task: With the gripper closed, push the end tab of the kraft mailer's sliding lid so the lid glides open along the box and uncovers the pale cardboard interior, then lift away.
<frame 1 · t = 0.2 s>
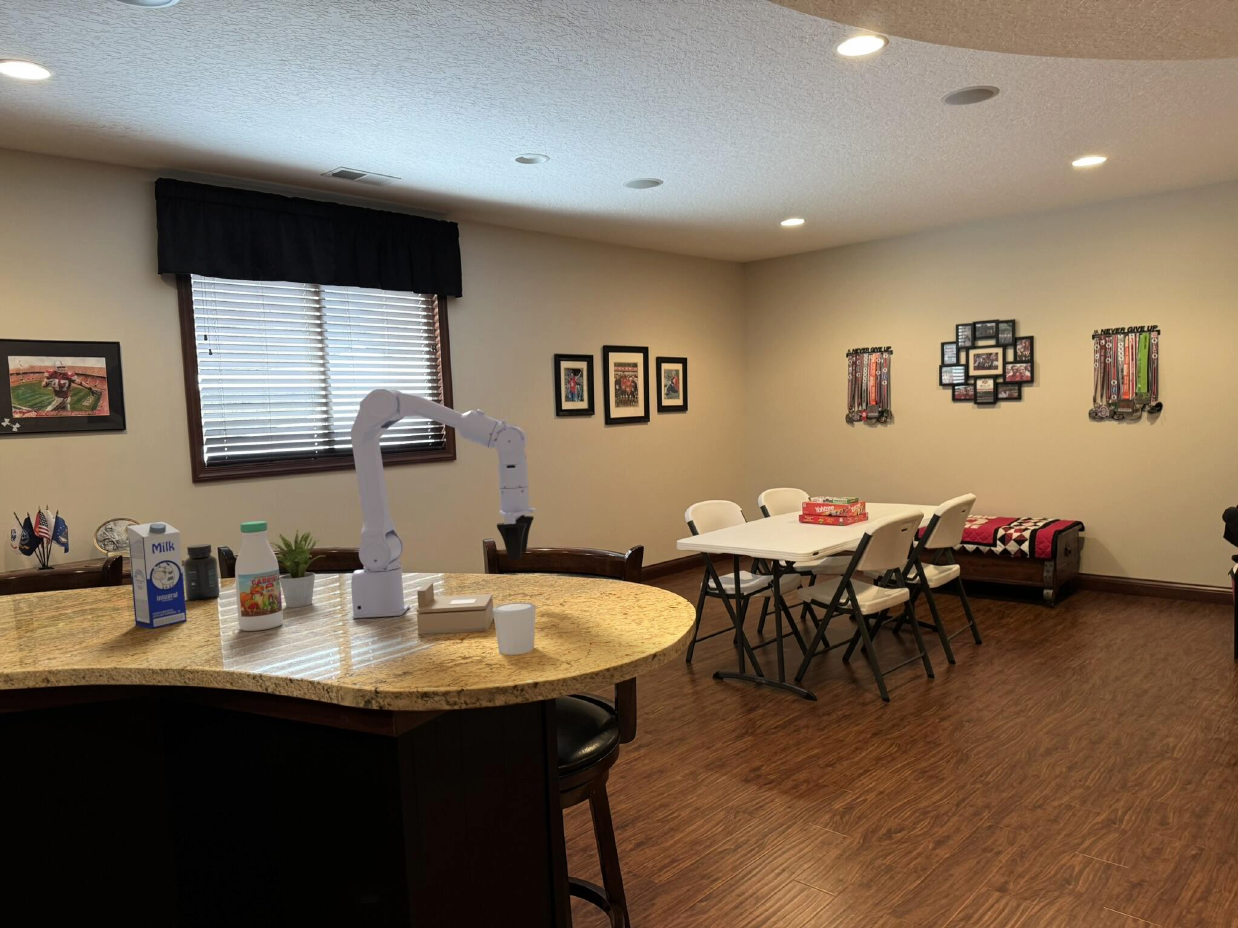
hand: (517, 555, 164), 10 cm above the countertop, fingers open, 7 cm apart
mailer: (457, 625, 151), on the countertop
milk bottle: (261, 627, 158), on the countertop
house plant: (299, 604, 178), on the countertop
supplement bottle: (203, 598, 190), on the countertop
white cup: (516, 650, 133), on the countertop
milk carton: (161, 624, 166), on the countertop
lid: (455, 594, 151), point 6 cm above the countertop, slide at 0.0 cm
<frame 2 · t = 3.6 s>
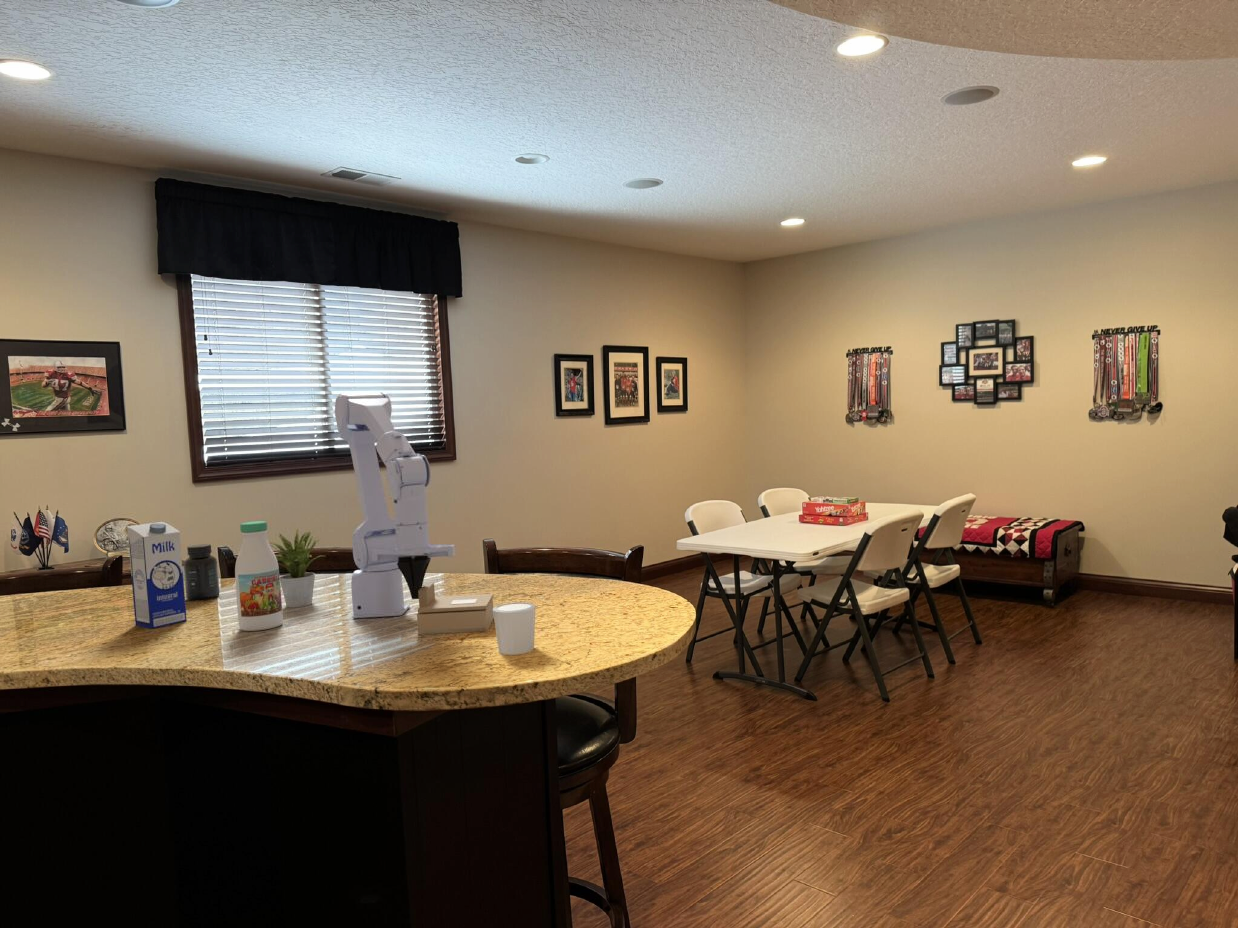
hand: (416, 597, 151), 6 cm above the countertop, fingers closed
lid: (456, 594, 151), point 6 cm above the countertop, slide at 0.2 cm, touching gripper
everything else where it was.
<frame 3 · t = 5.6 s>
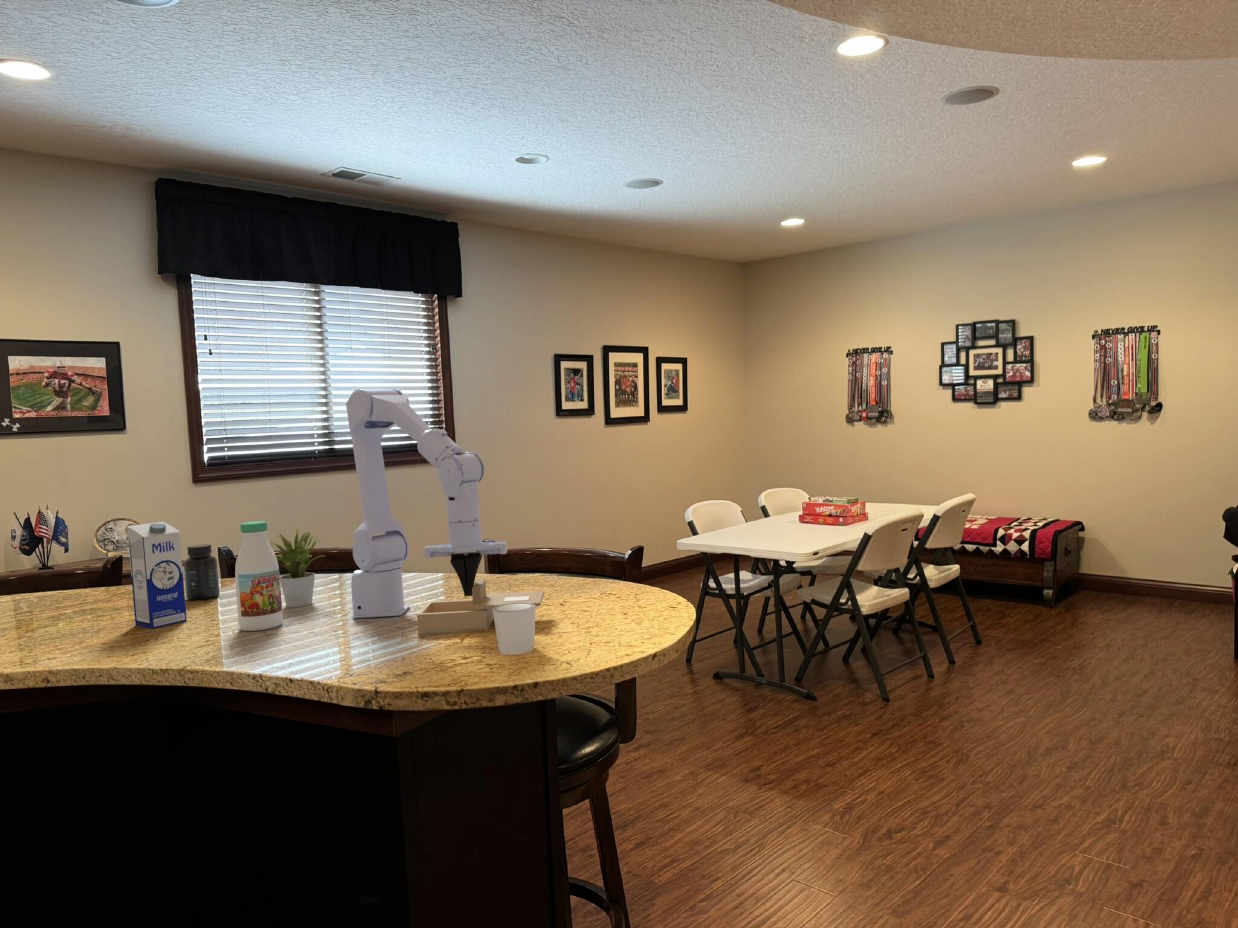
hand: (468, 595, 151), 6 cm above the countertop, fingers closed
lid: (508, 591, 151), point 6 cm above the countertop, slide at 9.6 cm, touching gripper
everything else where it was.
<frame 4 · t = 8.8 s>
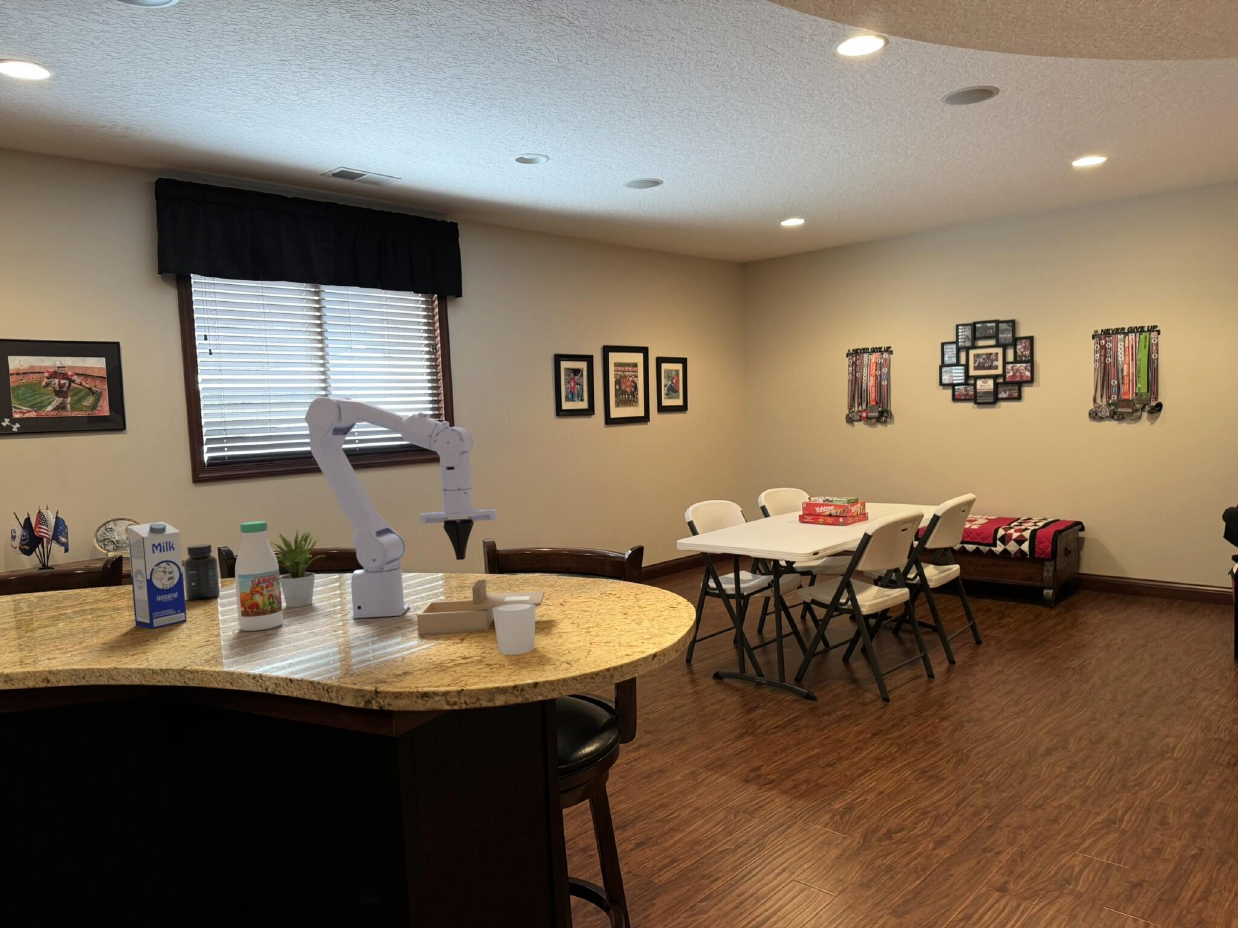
hand: (461, 558, 161), 10 cm above the countertop, fingers closed
lid: (508, 591, 151), point 6 cm above the countertop, slide at 9.7 cm
everything else where it was.
at the end: lid slide at 9.7 cm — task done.
